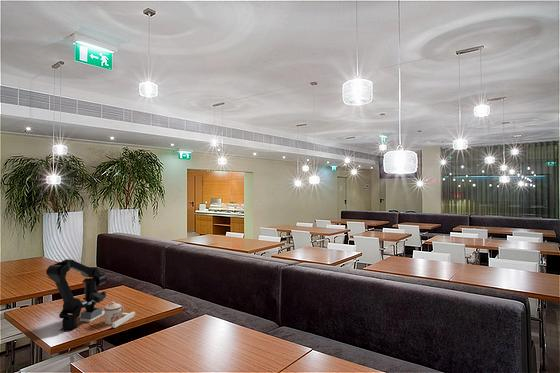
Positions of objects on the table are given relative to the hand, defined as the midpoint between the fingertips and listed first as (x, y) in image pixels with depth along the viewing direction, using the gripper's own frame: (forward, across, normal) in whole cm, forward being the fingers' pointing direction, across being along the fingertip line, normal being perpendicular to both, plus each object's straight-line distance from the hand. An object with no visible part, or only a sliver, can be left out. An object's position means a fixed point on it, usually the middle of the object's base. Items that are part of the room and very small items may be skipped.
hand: (90, 314), depth 199 cm
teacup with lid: (+2, 0, -17) cm, 17 cm away
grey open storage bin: (+2, 0, -11) cm, 11 cm away
